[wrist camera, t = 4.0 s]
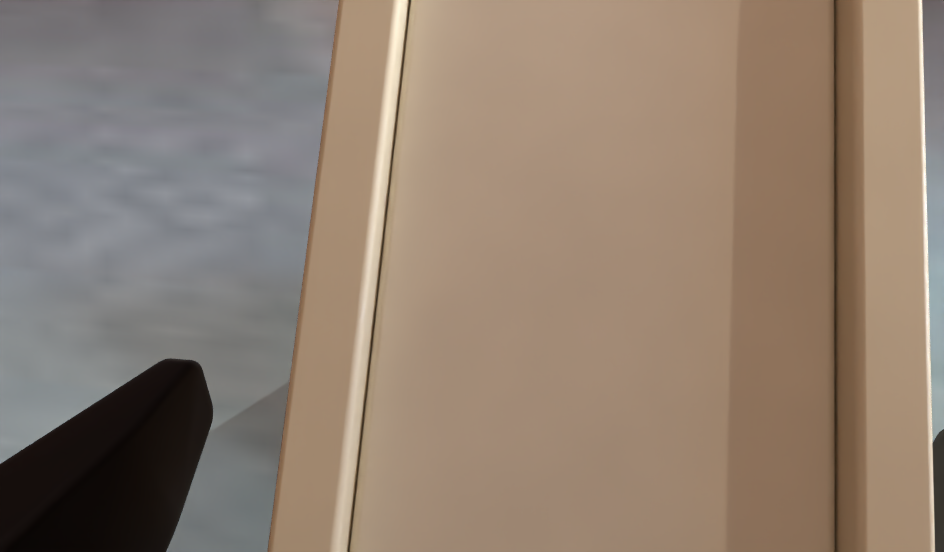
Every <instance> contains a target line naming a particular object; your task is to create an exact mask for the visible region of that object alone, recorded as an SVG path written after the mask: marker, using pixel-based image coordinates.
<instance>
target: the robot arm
mask: <svg viewBox="0 0 944 552" xmlns="http://www.w3.org/2000/svg"><path fill="white" fill-rule="evenodd" d="M212 419H213V406H212V401H211V398H210V394H209V391H208V387H207V384H206V380H205V377H204V373H203V370H202V367H201V366H200V364H199V363H198V362H196V361H193V360H182V359H171V358H170V359H165V360H162V361H160V362H158V363H157V364H155V365H154V366H152V367H151V368H149V369H147V370H146V371H144V372H143V373H141V374H140V375H138V376H137V377H135V378H133V379H132V380H130V381H129V382H127V383H126V384H124V385H123V386H121V387H119V388H118V389H116V390H115V391H113V392H112V393H110V394H108V395H107V396H105V397H104V398H102V399H101V400H99V401H98V402H96V403H94V404H93V405H91V406H90V407H88V408H87V409H85V410H84V411H82V412H80V413H79V414H77V415H76V416H74V417H73V418H71V419H70V420H68V421H66V422H65V423H63V424H62V425H60V426H59V427H57V428H56V429H54V430H52V431H51V432H49V433H48V434H46V435H45V436H43V437H42V438H40V439H38V440H37V441H35V442H34V443H32V444H31V445H29V446H27V447H26V448H24V449H23V450H21V451H20V452H18V453H17V454H15V455H13V456H12V457H10V458H9V459H7V460H6V461H4V462H3V463H1V464H0V552H166V551H167V548H168V546H169V544H170V541H171V539H172V537H173V534H174V532H175V529H176V527H177V524H178V521H179V518H180V516H181V513H182V510H183V507H184V504H185V501H186V498H187V495H188V492H189V489H190V486H191V483H192V480H193V477H194V474H195V471H196V468H197V465H198V462H199V459H200V456H201V454H202V451H203V448H204V445H205V442H206V439H207V436H208V433H209V430H210V427H211V423H212ZM932 445H933V487H934V529H935V552H944V429H943V430H942V431H940V432H939V434H938V435H937V437H936V438H935V440H934V442H933V443H932Z"/></svg>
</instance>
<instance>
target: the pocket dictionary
mask: <svg viewBox="0 0 944 552" xmlns="http://www.w3.org/2000/svg"><path fill="white" fill-rule="evenodd" d="M268 552H935V529H934V487H933V445H932V404H931V362H930V321H929V279H928V237H927V196H926V154H925V113H924V71H923V30H922V0H339V5H338V13H337V20H336V28H335V36H334V43H333V51H332V59H331V66H330V74H329V82H328V90H327V97H326V105H325V113H324V120H323V128H322V136H321V143H320V151H319V159H318V167H317V174H316V182H315V190H314V197H313V205H312V213H311V220H310V228H309V236H308V244H307V251H306V259H305V267H304V274H303V282H302V290H301V297H300V305H299V313H298V321H297V328H296V336H295V344H294V351H293V359H292V367H291V374H290V382H289V390H288V398H287V405H286V413H285V421H284V428H283V436H282V444H281V451H280V459H279V467H278V475H277V482H276V490H275V498H274V505H273V513H272V521H271V528H270V536H269V544H268Z"/></svg>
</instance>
